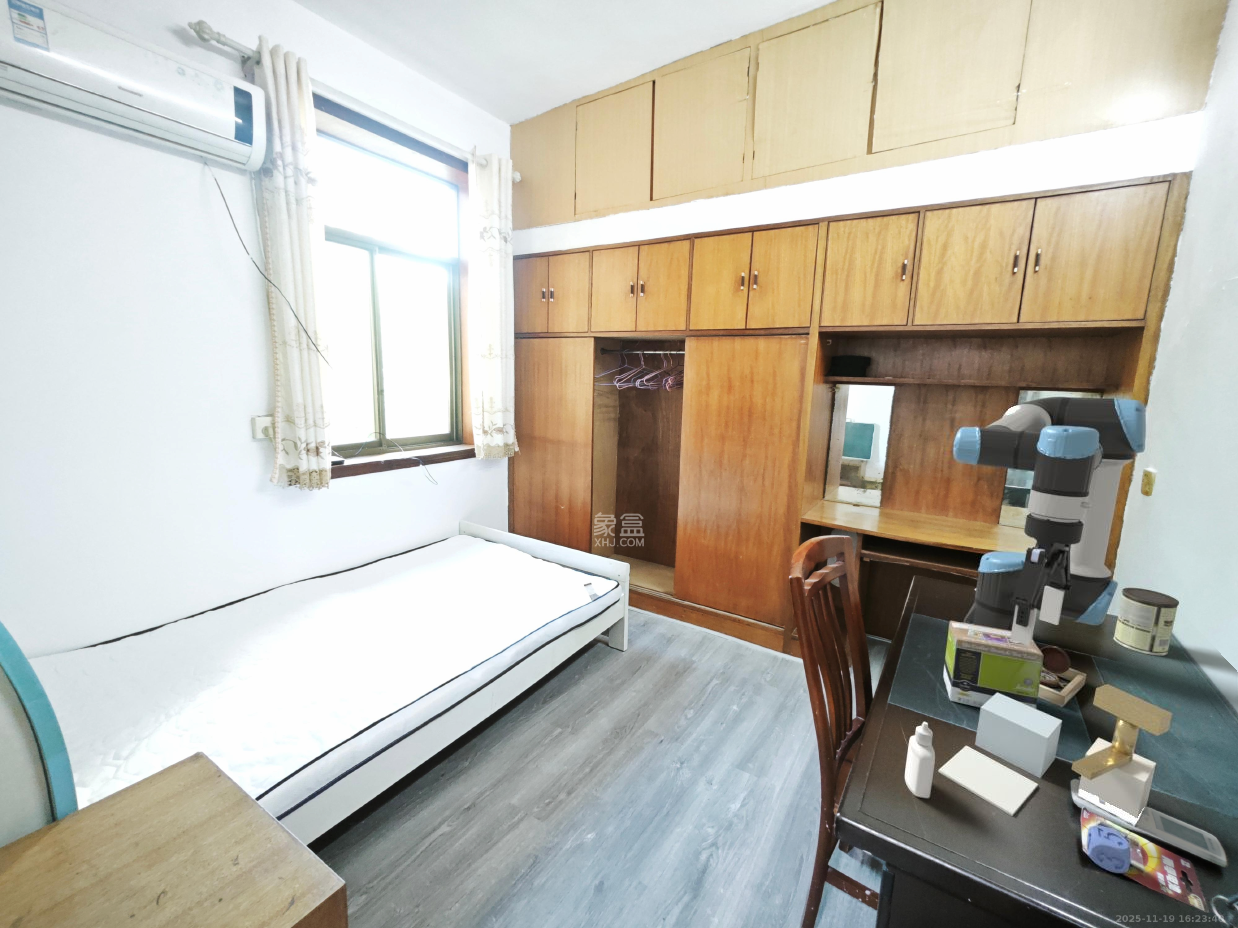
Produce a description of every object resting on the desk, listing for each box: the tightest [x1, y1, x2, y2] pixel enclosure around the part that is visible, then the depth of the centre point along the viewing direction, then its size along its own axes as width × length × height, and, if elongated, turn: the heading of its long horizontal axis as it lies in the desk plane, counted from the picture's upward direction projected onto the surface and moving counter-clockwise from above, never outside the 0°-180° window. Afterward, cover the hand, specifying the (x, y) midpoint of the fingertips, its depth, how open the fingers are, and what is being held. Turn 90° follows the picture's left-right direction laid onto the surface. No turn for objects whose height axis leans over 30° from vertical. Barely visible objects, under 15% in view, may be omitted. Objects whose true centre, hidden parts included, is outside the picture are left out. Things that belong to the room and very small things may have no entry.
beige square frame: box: [1038, 667, 1087, 708], centre depth 119 cm, size 15×15×2 cm
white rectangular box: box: [1078, 737, 1157, 818], centre depth 84 cm, size 7×7×8 cm
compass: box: [1039, 645, 1072, 688], centre depth 118 cm, size 8×8×7 cm
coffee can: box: [1113, 587, 1180, 657], centre depth 134 cm, size 10×10×14 cm
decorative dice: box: [1086, 824, 1131, 874], centre depth 74 cm, size 4×4×4 cm
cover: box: [974, 693, 1063, 779], centre depth 95 cm, size 10×8×8 cm
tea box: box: [943, 620, 1044, 709], centre depth 110 cm, size 15×10×15 cm
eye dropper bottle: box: [904, 721, 936, 799], centre depth 86 cm, size 4×6×12 cm
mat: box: [937, 745, 1039, 817], centre depth 89 cm, size 11×11×1 cm
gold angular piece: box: [1071, 683, 1173, 780], centre depth 80 cm, size 13×8×10 cm, turn 112°
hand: (1035, 631), depth 91 cm, fingers open, 13 cm apart
